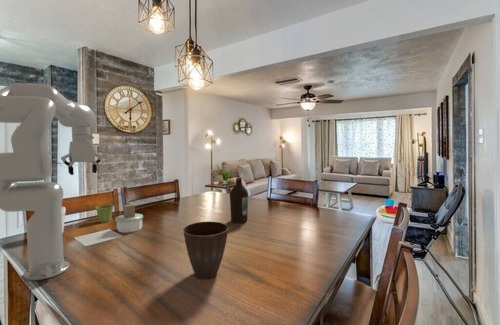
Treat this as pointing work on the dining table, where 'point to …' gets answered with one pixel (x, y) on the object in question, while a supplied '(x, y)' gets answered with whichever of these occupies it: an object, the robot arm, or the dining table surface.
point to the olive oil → (239, 202)
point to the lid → (129, 215)
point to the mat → (97, 237)
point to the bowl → (129, 226)
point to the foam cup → (63, 217)
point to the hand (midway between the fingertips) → (83, 173)
